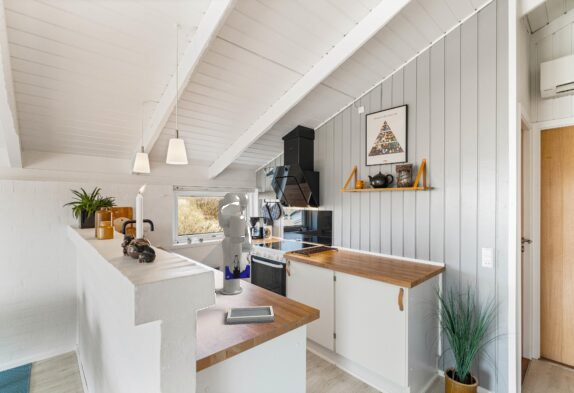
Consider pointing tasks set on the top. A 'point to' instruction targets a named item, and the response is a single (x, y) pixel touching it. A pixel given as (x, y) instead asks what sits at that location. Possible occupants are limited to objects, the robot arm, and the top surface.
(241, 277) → the blue long irregular block
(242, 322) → the shallow rectangular tray
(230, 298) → the top surface
